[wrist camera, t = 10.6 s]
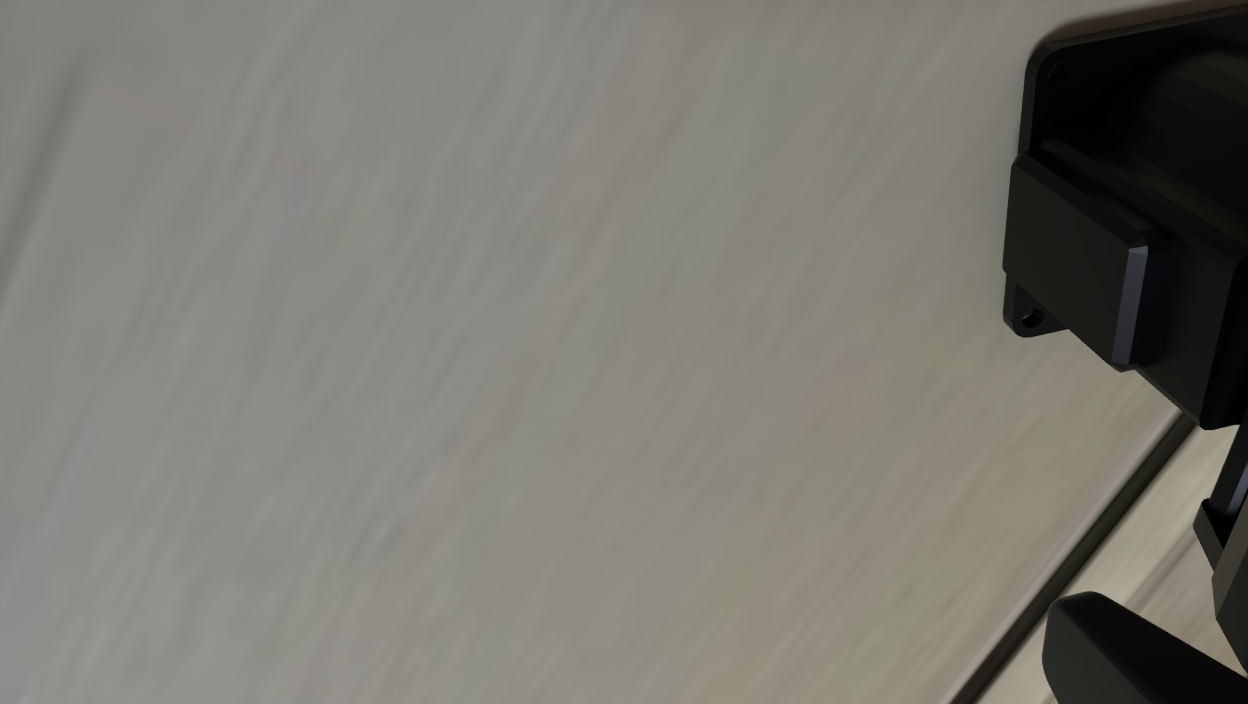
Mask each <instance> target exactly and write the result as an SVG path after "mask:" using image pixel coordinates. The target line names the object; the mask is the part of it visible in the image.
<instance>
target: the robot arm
mask: <svg viewBox="0 0 1248 704" xmlns="http://www.w3.org/2000/svg"><path fill="white" fill-rule="evenodd" d="M1058 61H1061V62H1062V66H1061V69H1060V72H1059V73H1058V74H1057V75H1056V76H1055V77H1054V78H1052V79H1050V80H1049V78H1048V74H1049V72H1050V69H1051V68H1052V66H1053V65H1054V64H1055V63H1056V62H1058ZM1002 267H1003V270H1004V272H1005V273H1007V275H1006V285H1005V296H1004V307H1003V319H1004V322H1005V323H1006V324H1007V326H1008V327H1009V328H1010V329H1011V330H1012V331H1013V332H1014V333H1015V334H1016V335H1018V336H1021V337H1023V338H1025V337H1034V336H1039V335H1043V334H1048V333H1052V332H1057V331H1061V330H1066V329H1069V330H1070V331H1071V332H1072V333H1074V334H1075V335H1076V336H1077V337H1078V338H1079V339H1080V340H1081V341H1083V342H1084V343H1085V344H1086V345H1087V346H1088V347H1089V348H1090V349H1091V350H1093V351H1094V352H1095V353H1096V354H1097V355H1098V356H1099V357H1100V358H1102V359H1103V360H1104V361H1105V362H1106V363H1107V364H1108V365H1110V366H1111V367H1112V368H1114V369H1115V370H1117V371H1119V372H1121V373H1122V372H1126V371H1130V370H1136V371H1137V372H1138V373H1139V374H1140V375H1141V376H1142V377H1144V378H1145V379H1146V380H1147V381H1148V382H1149V383H1151V384H1152V385H1153V386H1154V387H1155V388H1156V389H1157V390H1159V391H1160V392H1161V393H1162V394H1163V395H1164V396H1165V397H1167V398H1168V399H1169V400H1170V401H1171V402H1172V403H1173V404H1175V405H1176V406H1177V407H1178V408H1179V409H1180V410H1182V411H1183V412H1184V413H1185V414H1186V415H1187V416H1188V417H1190V418H1191V419H1192V420H1193V421H1194V422H1195V423H1196V424H1198V425H1199V426H1200V427H1201V428H1202V429H1204V430H1215V429H1219V428H1223V427H1227V426H1232V425H1240V426H1239V428H1238V431H1237V433H1236V436H1235V438H1234V440H1233V443H1232V445H1231V448H1230V450H1229V453H1228V455H1227V458H1226V460H1225V462H1224V465H1223V467H1222V470H1221V472H1220V475H1219V477H1218V480H1217V482H1216V484H1215V487H1214V489H1213V492H1212V494H1211V497H1210V498H1207V499H1204V500H1203V501H1202V503H1201V505H1200V507H1199V510H1198V512H1197V515H1196V517H1195V520H1194V522H1193V529H1194V531H1195V533H1196V535H1197V537H1198V539H1199V541H1200V544H1201V546H1202V548H1203V550H1204V552H1205V554H1206V556H1207V558H1208V561H1209V563H1210V565H1211V567H1212V569H1213V571H1214V574H1213V576H1212V587H1213V597H1214V607H1215V616H1216V620H1217V622H1218V624H1219V626H1220V627H1221V629H1222V631H1223V633H1224V635H1225V636H1226V638H1227V640H1228V642H1229V644H1230V645H1231V647H1232V649H1233V651H1234V653H1235V655H1236V656H1237V658H1238V660H1239V662H1240V664H1241V665H1242V667H1243V668H1244V670H1245V671H1246V672H1247V673H1248V4H1244V5H1239V6H1234V7H1229V8H1223V9H1218V10H1213V11H1208V12H1203V13H1197V14H1192V15H1187V16H1182V17H1177V18H1171V19H1166V20H1161V21H1156V22H1151V23H1145V24H1140V25H1135V26H1130V27H1125V28H1119V29H1114V30H1109V31H1104V32H1099V33H1093V34H1088V35H1083V36H1078V37H1073V38H1067V39H1062V40H1057V41H1052V42H1049V43H1047V44H1044V45H1042V46H1041V47H1040V48H1039V49H1038V50H1036V51H1035V52H1034V53H1033V55H1032V56H1031V58H1030V60H1029V61H1028V64H1027V67H1026V71H1025V80H1024V91H1023V102H1022V113H1021V124H1020V134H1019V145H1018V155H1017V157H1016V158H1015V160H1014V162H1013V164H1012V166H1011V175H1010V187H1009V198H1008V209H1007V220H1006V231H1005V242H1004V253H1003V265H1002ZM1033 308H1034V310H1033V312H1032V313H1031V315H1030V316H1029V317H1027V318H1024V319H1023V317H1024V315H1025V314H1026V313H1027V312H1028V311H1029V310H1031V309H1033ZM1042 664H1043V669H1044V673H1045V676H1046V679H1047V681H1048V683H1049V686H1050V688H1051V690H1052V692H1053V694H1054V696H1055V698H1056V700H1057V702H1058V704H1248V675H1247V677H1246V678H1245V677H1243V676H1242V675H1240V674H1238V673H1237V672H1235V671H1233V670H1231V669H1230V668H1228V667H1226V666H1225V665H1223V664H1221V663H1219V662H1218V661H1216V660H1214V659H1213V658H1211V657H1209V656H1207V655H1206V654H1204V653H1202V652H1201V651H1199V650H1197V649H1195V648H1194V647H1192V646H1190V645H1189V644H1187V643H1185V642H1183V641H1182V640H1180V639H1178V638H1177V637H1175V636H1173V635H1171V634H1170V633H1168V632H1166V631H1165V630H1163V629H1161V628H1159V627H1158V626H1156V625H1154V624H1152V623H1151V622H1149V621H1147V620H1146V619H1144V618H1142V617H1140V616H1139V615H1137V614H1135V613H1134V612H1132V611H1130V610H1128V609H1127V608H1125V607H1123V606H1122V605H1120V604H1118V603H1116V602H1115V601H1113V600H1111V599H1110V598H1108V597H1106V596H1104V595H1102V594H1100V593H1097V592H1092V591H1088V592H1082V593H1078V594H1074V595H1070V596H1066V597H1062V598H1058V599H1056V600H1054V601H1053V603H1052V604H1051V605H1050V607H1049V611H1048V618H1047V624H1046V631H1045V638H1044V645H1043V651H1042Z"/></svg>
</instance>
